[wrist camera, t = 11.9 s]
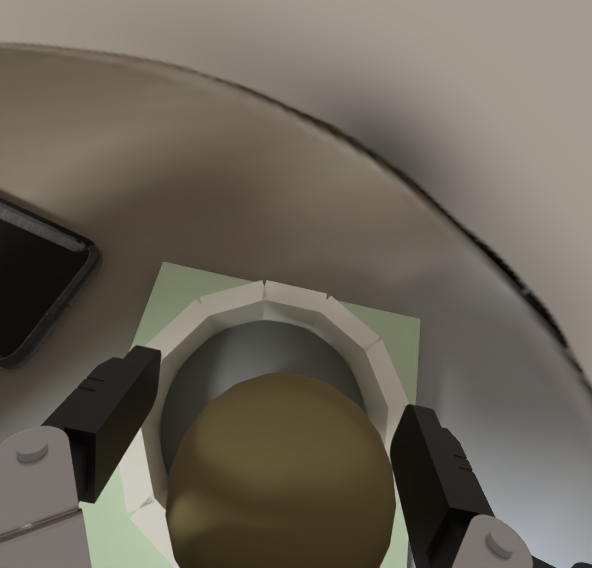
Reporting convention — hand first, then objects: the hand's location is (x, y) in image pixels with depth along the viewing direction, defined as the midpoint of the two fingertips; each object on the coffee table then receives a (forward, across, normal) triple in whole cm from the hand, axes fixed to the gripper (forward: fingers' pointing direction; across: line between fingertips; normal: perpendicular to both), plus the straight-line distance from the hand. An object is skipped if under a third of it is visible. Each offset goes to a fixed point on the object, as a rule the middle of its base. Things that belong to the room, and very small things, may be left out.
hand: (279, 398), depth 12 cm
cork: (+3, 0, +6) cm, 7 cm away
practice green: (+5, 0, +6) cm, 8 cm away
